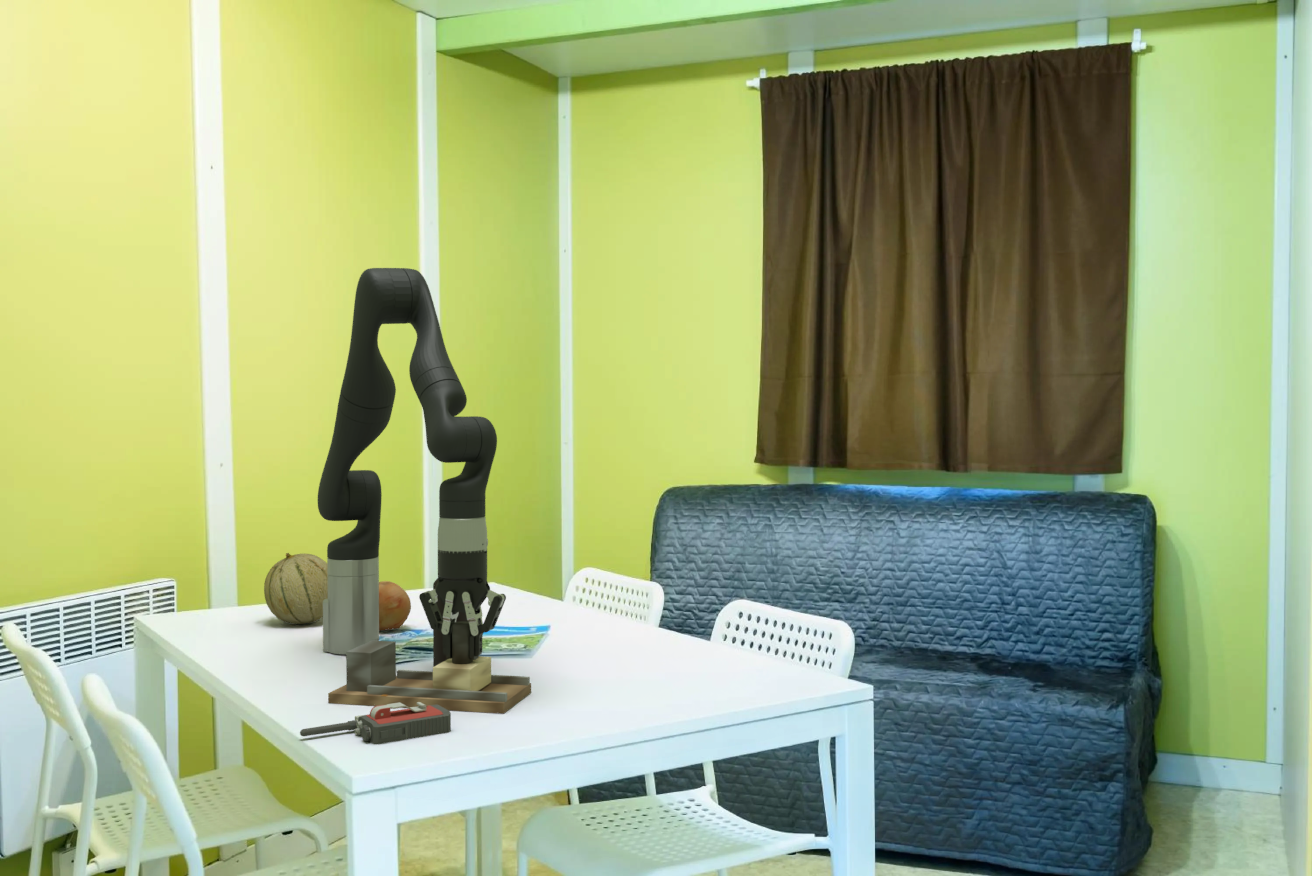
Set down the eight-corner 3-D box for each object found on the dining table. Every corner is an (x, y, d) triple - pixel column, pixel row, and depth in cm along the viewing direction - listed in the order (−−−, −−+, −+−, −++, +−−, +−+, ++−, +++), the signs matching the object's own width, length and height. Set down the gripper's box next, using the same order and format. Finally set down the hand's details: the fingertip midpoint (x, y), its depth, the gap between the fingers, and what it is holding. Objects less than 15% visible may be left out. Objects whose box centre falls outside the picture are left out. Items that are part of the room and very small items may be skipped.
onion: (421, 628, 238) (421, 579, 238) (388, 637, 229) (388, 586, 229) (384, 624, 243) (384, 576, 242) (350, 632, 234) (350, 582, 234)
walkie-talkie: (435, 719, 171) (297, 741, 159) (435, 689, 170) (297, 709, 159) (460, 733, 163) (318, 757, 152) (460, 701, 163) (318, 723, 152)
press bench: (328, 703, 178) (328, 654, 178) (366, 683, 191) (366, 637, 191) (503, 713, 172) (503, 662, 172) (531, 692, 185) (531, 645, 185)
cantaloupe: (353, 621, 246) (352, 550, 245) (297, 633, 233) (296, 558, 233) (304, 615, 253) (304, 545, 253) (248, 625, 241) (247, 552, 241)
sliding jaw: (432, 693, 177) (432, 627, 177) (455, 680, 186) (455, 617, 185) (470, 696, 176) (470, 629, 175) (491, 682, 184) (491, 618, 184)
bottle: (440, 675, 197) (439, 556, 196) (428, 667, 203) (428, 552, 202) (478, 671, 200) (478, 554, 199) (466, 664, 206) (466, 550, 205)
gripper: (409, 548, 178) (409, 661, 178) (497, 550, 175) (497, 665, 175) (429, 542, 185) (429, 651, 186) (514, 544, 182) (514, 655, 183)
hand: (462, 657), depth 180 cm, fingers closed on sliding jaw, 3 cm apart
